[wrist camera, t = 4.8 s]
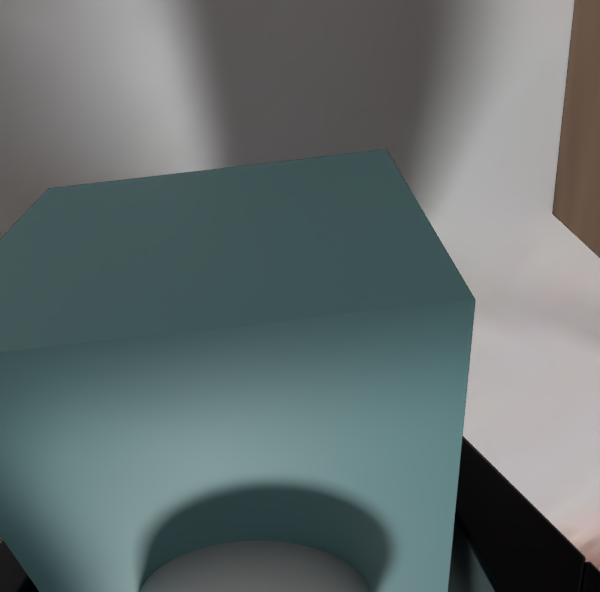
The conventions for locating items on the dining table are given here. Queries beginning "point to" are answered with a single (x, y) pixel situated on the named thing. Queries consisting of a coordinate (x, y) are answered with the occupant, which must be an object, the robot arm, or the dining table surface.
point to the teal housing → (233, 383)
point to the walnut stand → (581, 131)
